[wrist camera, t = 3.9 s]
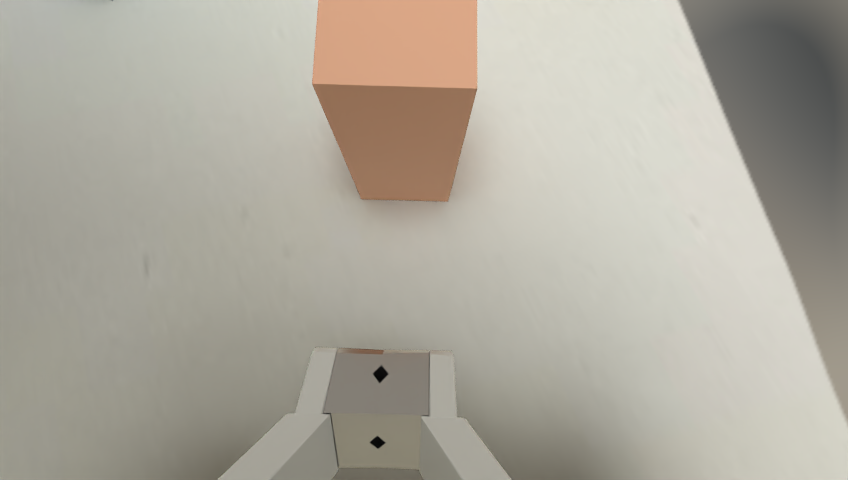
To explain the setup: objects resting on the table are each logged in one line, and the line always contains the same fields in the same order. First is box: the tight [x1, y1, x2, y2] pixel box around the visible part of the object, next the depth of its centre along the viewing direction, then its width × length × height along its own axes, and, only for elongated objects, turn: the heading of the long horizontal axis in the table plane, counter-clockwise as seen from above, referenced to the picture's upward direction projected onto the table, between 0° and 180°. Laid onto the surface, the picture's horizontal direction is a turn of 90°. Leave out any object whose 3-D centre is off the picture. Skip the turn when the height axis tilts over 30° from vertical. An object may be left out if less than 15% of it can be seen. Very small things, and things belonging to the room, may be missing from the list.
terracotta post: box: [312, 0, 477, 201], centre depth 16 cm, size 4×4×10 cm
